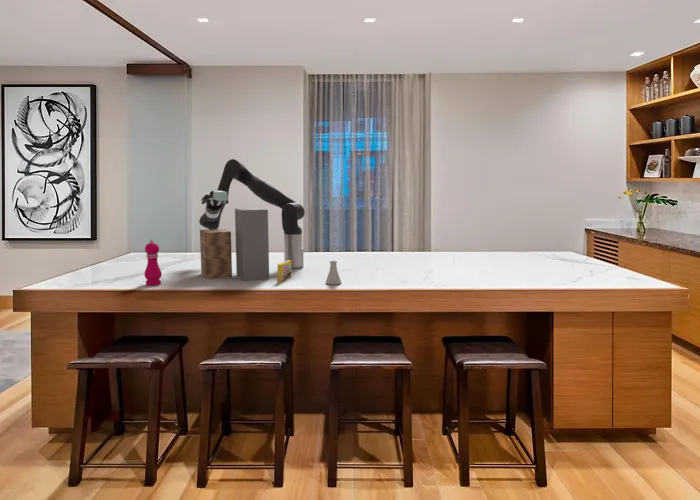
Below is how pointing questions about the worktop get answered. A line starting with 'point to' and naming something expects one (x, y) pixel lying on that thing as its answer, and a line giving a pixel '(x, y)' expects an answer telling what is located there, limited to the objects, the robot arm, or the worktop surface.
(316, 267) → the worktop surface
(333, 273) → the flask
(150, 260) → the pepper mill
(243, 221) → the tall podium
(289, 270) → the candy box
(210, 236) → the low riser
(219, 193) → the slim carton
